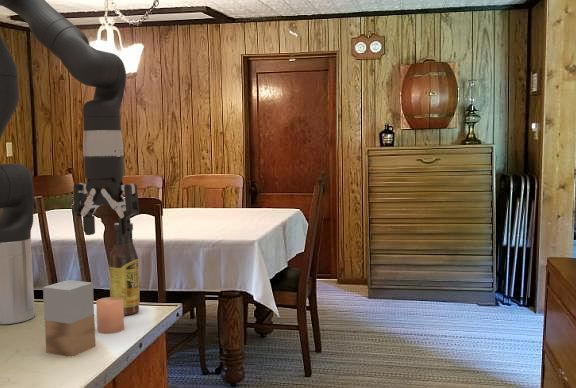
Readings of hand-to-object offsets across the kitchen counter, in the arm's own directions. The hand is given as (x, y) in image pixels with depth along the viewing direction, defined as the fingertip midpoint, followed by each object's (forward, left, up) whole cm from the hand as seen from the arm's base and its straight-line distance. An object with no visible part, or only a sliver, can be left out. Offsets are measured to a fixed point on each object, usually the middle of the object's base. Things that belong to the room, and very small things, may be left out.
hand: (107, 235), depth 120 cm
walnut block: (+1, -12, -19) cm, 23 cm away
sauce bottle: (-5, +11, -19) cm, 23 cm away
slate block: (+1, -12, -13) cm, 18 cm away
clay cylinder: (0, 0, -19) cm, 19 cm away
